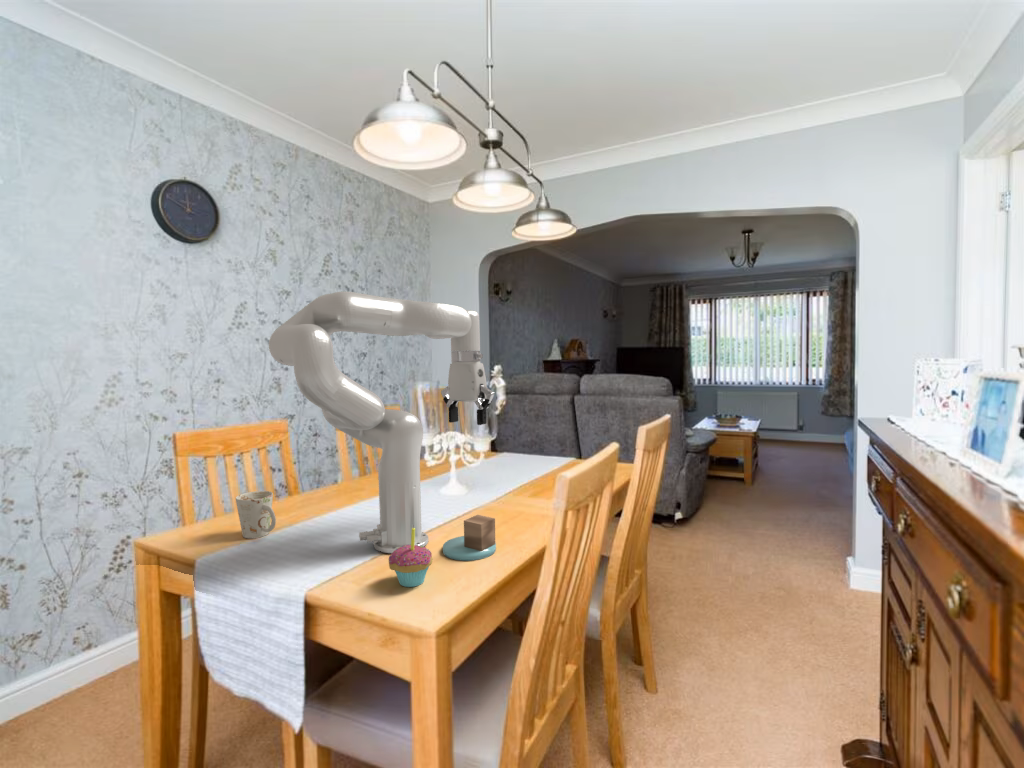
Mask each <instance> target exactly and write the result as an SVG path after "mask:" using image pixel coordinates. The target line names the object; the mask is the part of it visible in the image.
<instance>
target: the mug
mask: <svg viewBox="0 0 1024 768" xmlns="http://www.w3.org/2000/svg"><path fill="white" fill-rule="evenodd" d="M273 498H274V493H273V492H272V491H270V490H268V491H267V490H257V491H249V492H245V493H241V494H239V495H237V496H236V497H235V503H236V504H235V505H236V508H237V514H238V518H239V524H240V527H241V533H242V535H241V536H242V537H243V538H245V539H258V538H262V537H265V536H267V535H269V534H270V532H271V531H273V530H274V528H275V527H276V523H277V521H276V520H277V518H276V515H275V511H274V509H273Z"/></svg>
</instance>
